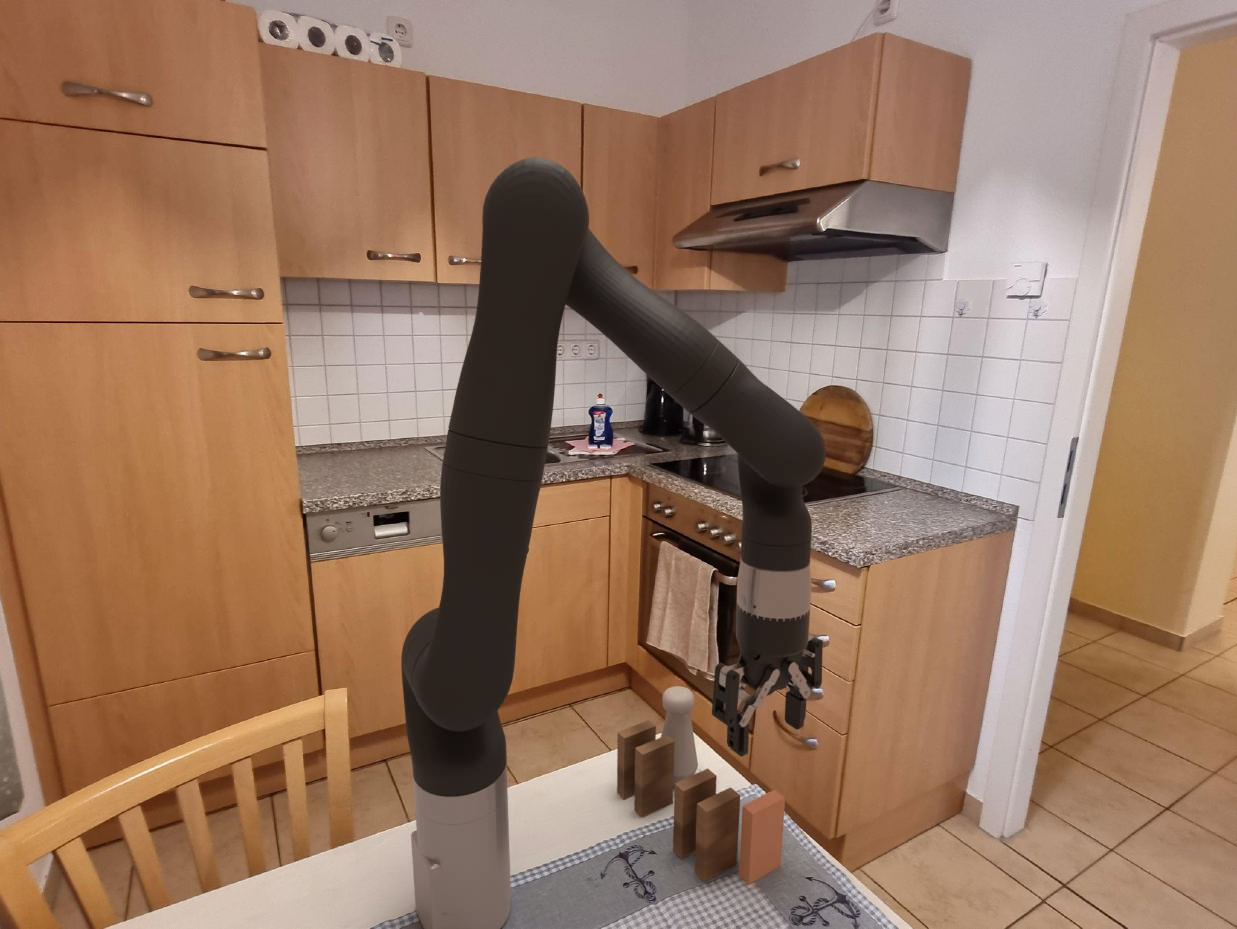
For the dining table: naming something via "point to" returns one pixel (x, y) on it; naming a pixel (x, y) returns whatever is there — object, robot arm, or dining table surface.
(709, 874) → the domino
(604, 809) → the dining table surface
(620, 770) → the domino
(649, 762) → the domino
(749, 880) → the domino
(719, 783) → the dining table surface
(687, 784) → the domino
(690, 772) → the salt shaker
